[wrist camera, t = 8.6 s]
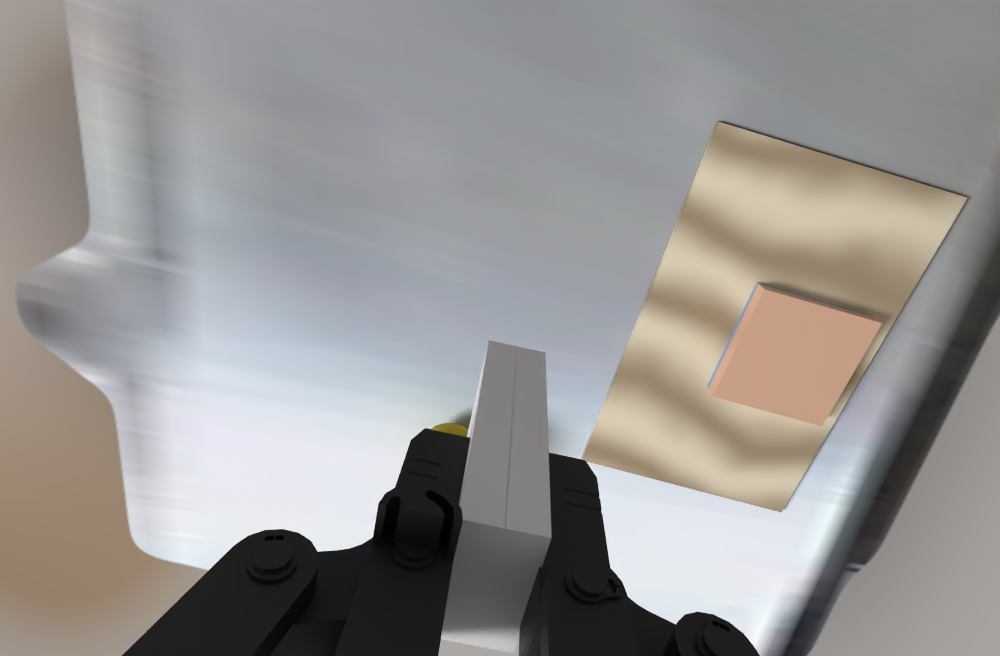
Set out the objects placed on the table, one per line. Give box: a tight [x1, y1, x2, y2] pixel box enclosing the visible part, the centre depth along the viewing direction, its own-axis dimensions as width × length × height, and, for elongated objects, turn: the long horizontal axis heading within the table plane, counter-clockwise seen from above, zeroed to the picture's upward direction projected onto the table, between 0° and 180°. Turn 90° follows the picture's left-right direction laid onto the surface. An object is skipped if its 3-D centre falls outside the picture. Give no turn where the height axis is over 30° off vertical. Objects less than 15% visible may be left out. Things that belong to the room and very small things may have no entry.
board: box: [582, 121, 967, 512], centre depth 45 cm, size 28×18×1 cm, turn 164°
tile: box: [707, 282, 882, 426], centre depth 44 cm, size 9×2×9 cm
